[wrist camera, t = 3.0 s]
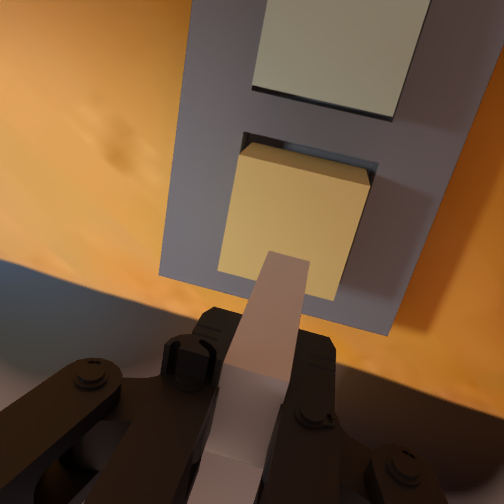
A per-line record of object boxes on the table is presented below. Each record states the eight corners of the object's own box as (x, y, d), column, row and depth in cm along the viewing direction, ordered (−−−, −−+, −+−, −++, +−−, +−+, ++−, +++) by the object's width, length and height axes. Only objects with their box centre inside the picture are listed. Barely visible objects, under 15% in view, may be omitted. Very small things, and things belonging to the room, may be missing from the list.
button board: (172, 258, 29) (158, 275, 27) (268, -448, 17) (257, -528, 14) (383, 314, 28) (387, 336, 26) (656, -400, 15) (711, -479, 13)
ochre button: (232, 244, 26) (217, 270, 22) (252, 142, 23) (238, 154, 20) (334, 271, 25) (333, 301, 22) (365, 168, 23) (370, 186, 19)
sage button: (264, 81, 22) (251, 84, 19) (292, -63, 19) (283, -87, 16) (384, 108, 21) (392, 117, 18) (429, -36, 19) (447, -55, 16)
